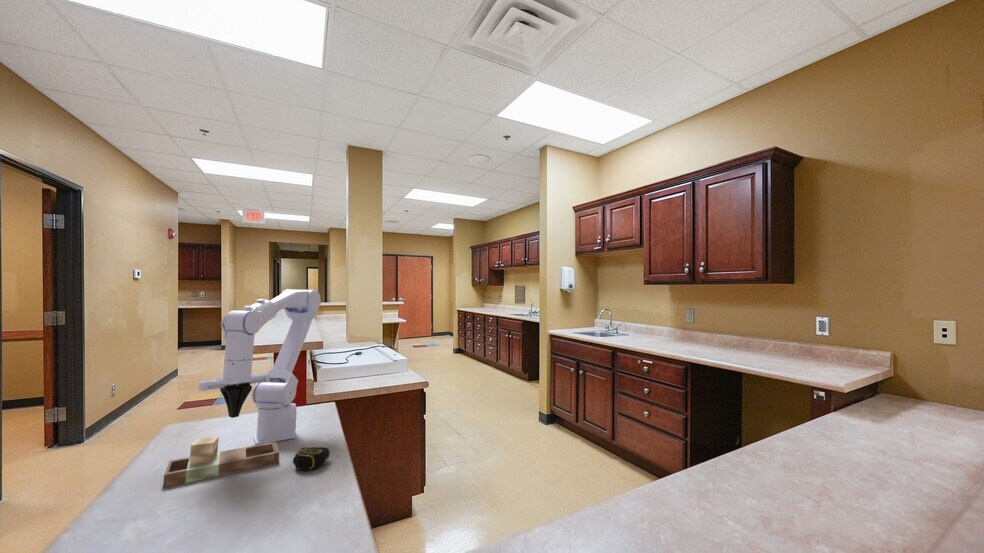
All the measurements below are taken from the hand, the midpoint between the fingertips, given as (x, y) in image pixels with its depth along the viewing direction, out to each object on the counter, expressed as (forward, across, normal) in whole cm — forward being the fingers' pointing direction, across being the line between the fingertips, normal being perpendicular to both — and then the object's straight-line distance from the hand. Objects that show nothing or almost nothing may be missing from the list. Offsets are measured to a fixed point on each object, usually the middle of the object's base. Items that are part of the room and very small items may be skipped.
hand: (233, 416), depth 87 cm
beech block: (+8, +6, 0) cm, 10 cm away
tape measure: (+11, -10, +17) cm, 23 cm away
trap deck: (+10, +2, +3) cm, 11 cm away
